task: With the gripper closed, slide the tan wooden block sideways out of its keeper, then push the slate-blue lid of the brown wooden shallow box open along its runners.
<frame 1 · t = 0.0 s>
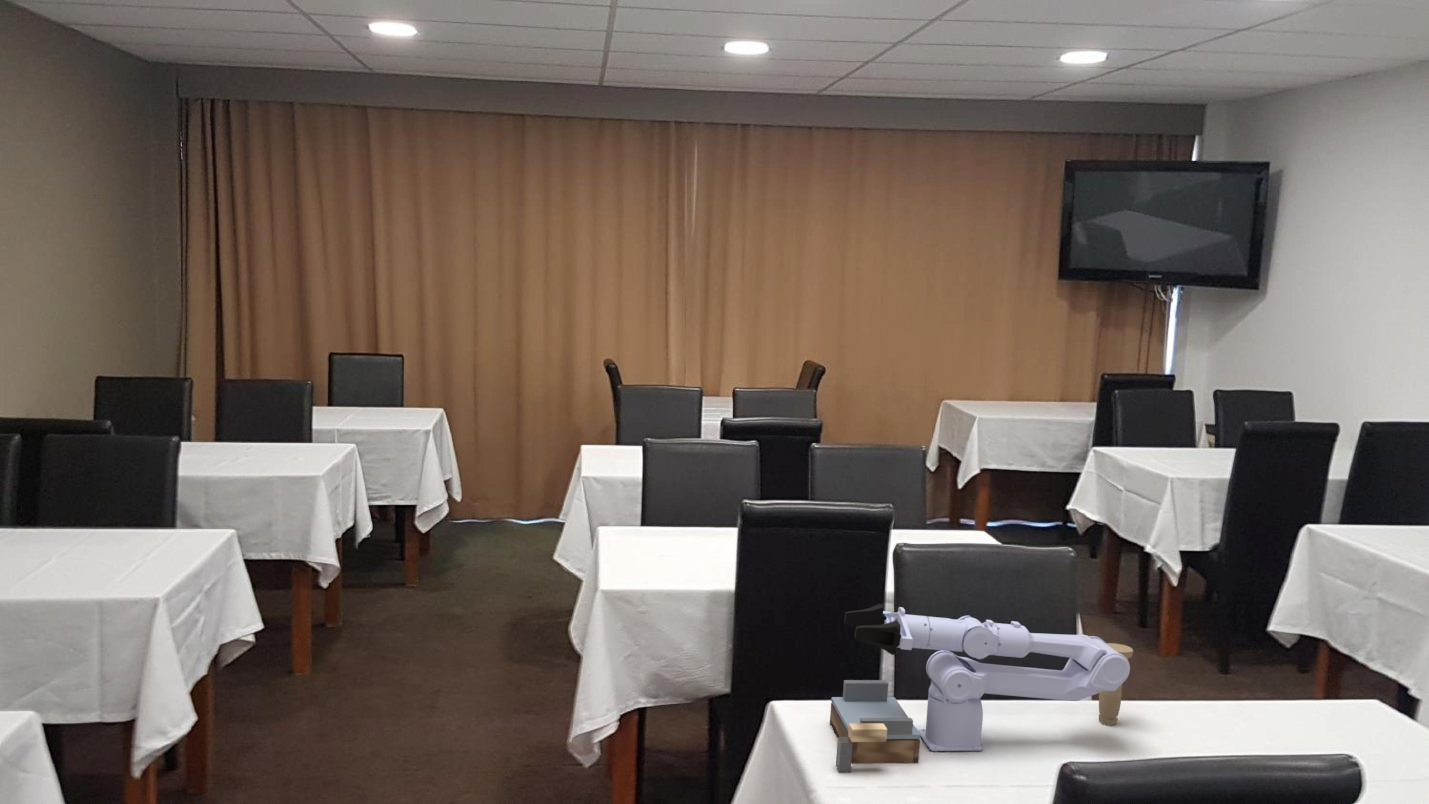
hand: (850, 625, 190), 22 cm above the table, tool horizontal, fingers open, 7 cm apart
tan wooden block: (867, 732, 182), point 6 cm above the table, slide at 0.0 cm
bolt guide: (843, 769, 183), on the table
handle: (1107, 723, 207), on the table
lid: (874, 707, 193), point 6 cm above the table, slide at 0.0 cm
brown wooden shallow box: (872, 742, 194), on the table
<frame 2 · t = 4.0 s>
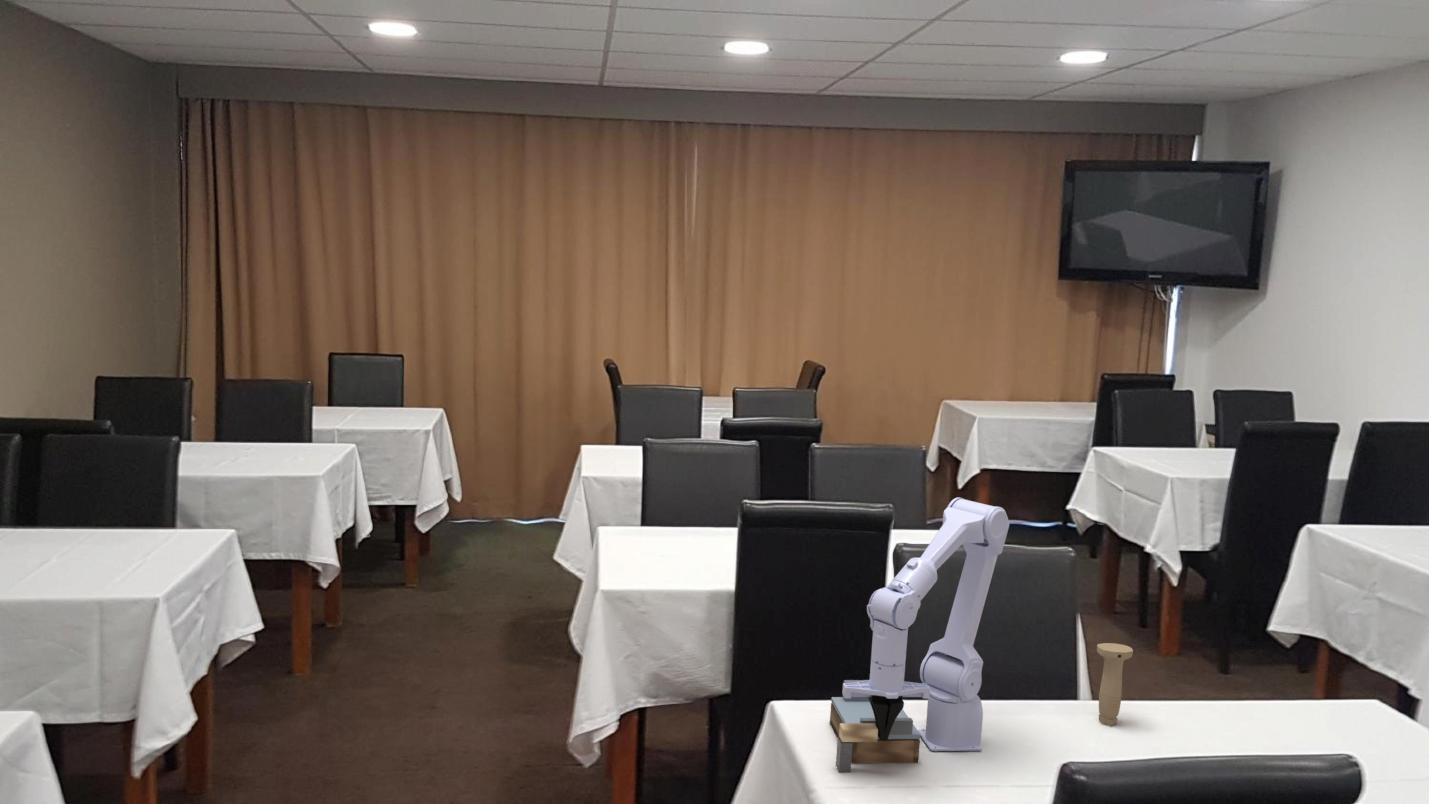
hand: (882, 737, 183), 6 cm above the table, tool pointing down, fingers closed
tan wooden block: (858, 732, 182), point 6 cm above the table, slide at 1.6 cm, touching gripper
everything else where it was.
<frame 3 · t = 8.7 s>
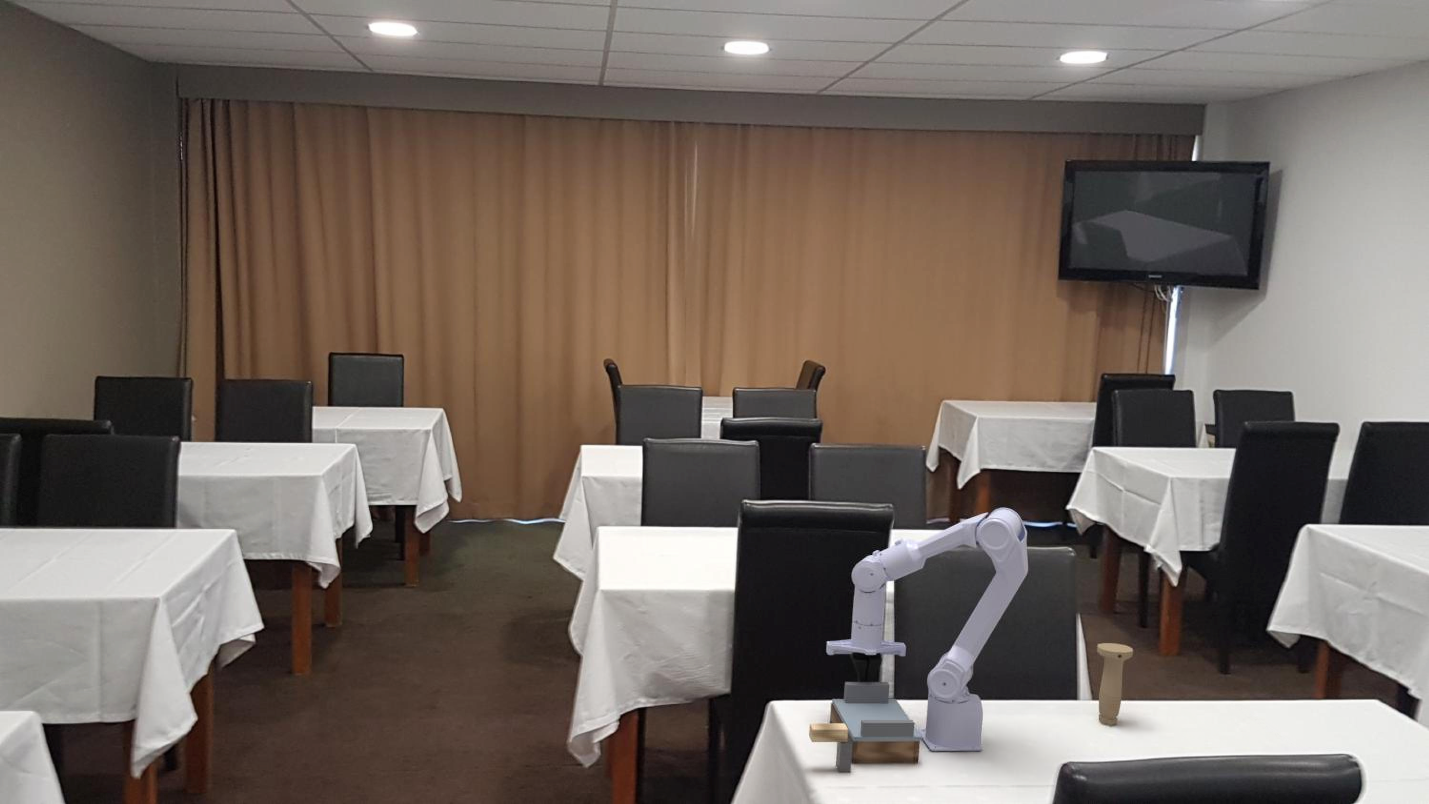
hand: (863, 691, 201), 6 cm above the table, tool pointing down, fingers closed, pressing on lid
tan wooden block: (828, 732, 181), point 6 cm above the table, slide at 6.7 cm
lid: (876, 709, 192), point 6 cm above the table, slide at 0.8 cm, touching gripper
everything else where it was.
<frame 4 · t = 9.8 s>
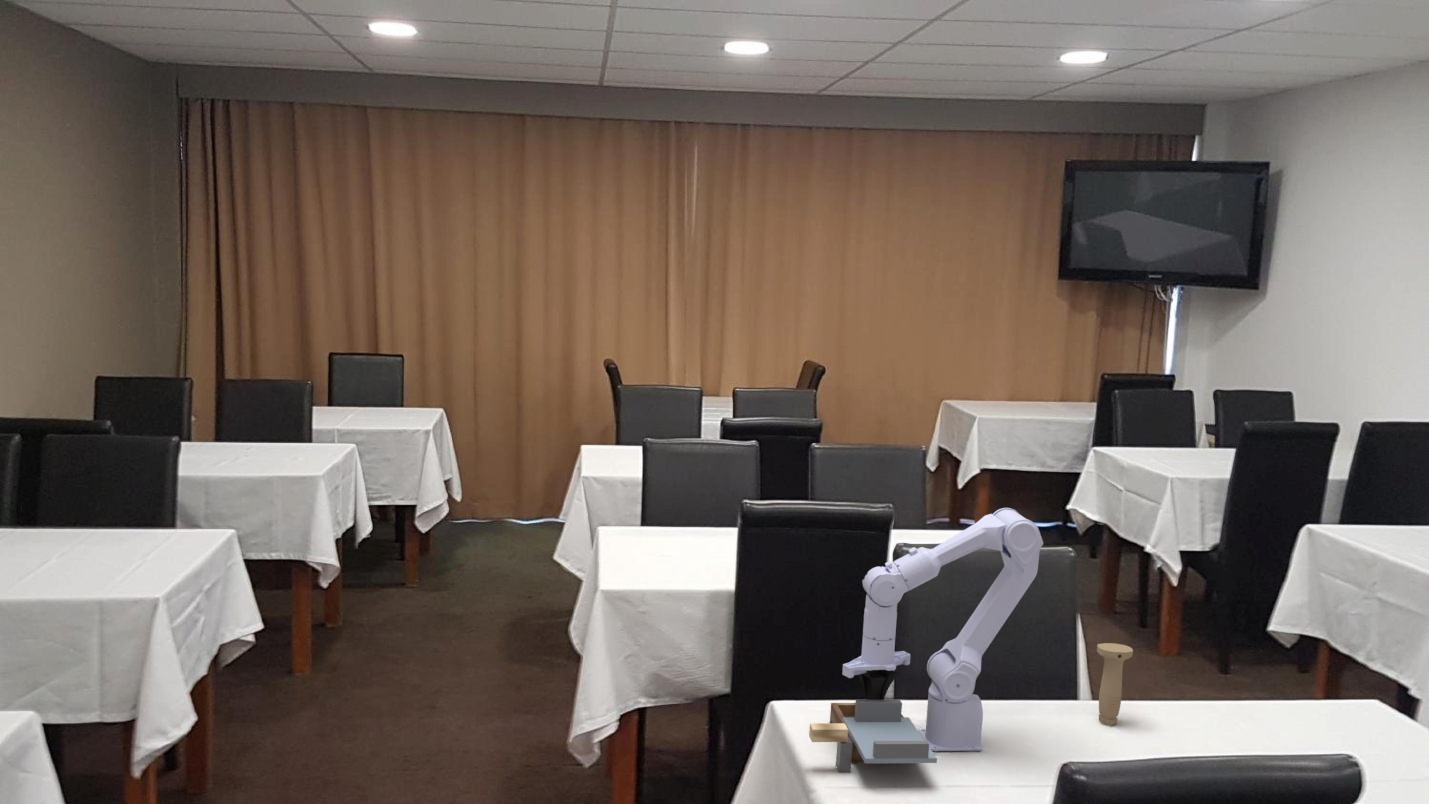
hand: (873, 708, 193), 6 cm above the table, tool pointing down, fingers closed
lid: (888, 729, 184), point 6 cm above the table, slide at 8.9 cm, touching gripper
everything else where it was.
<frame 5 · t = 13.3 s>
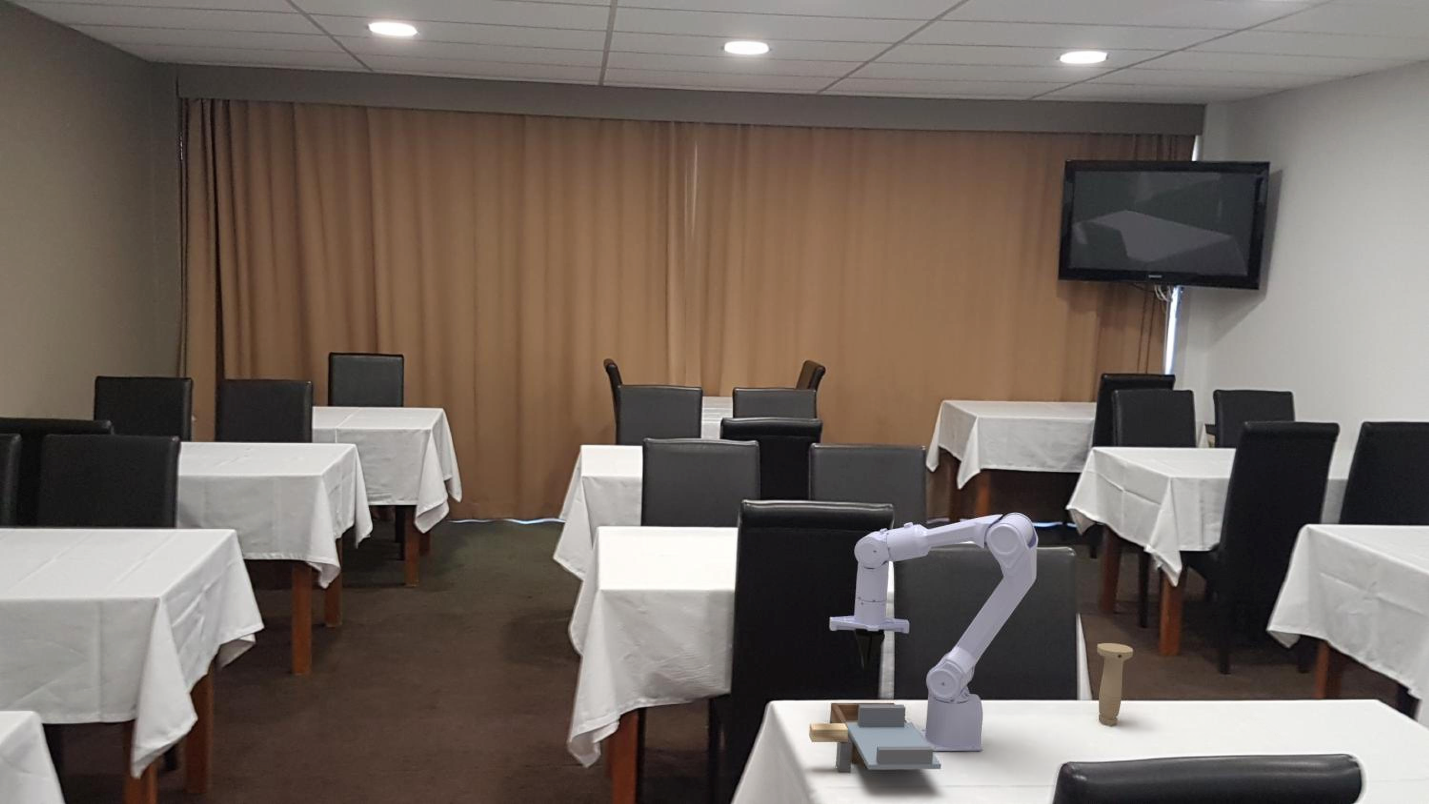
hand: (866, 667, 201), 10 cm above the table, tool pointing down, fingers closed
lid: (891, 734, 182), point 6 cm above the table, slide at 11.0 cm
everything else where it was.
at the end: tan wooden block slide at 6.7 cm; lid slide at 11.0 cm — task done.
